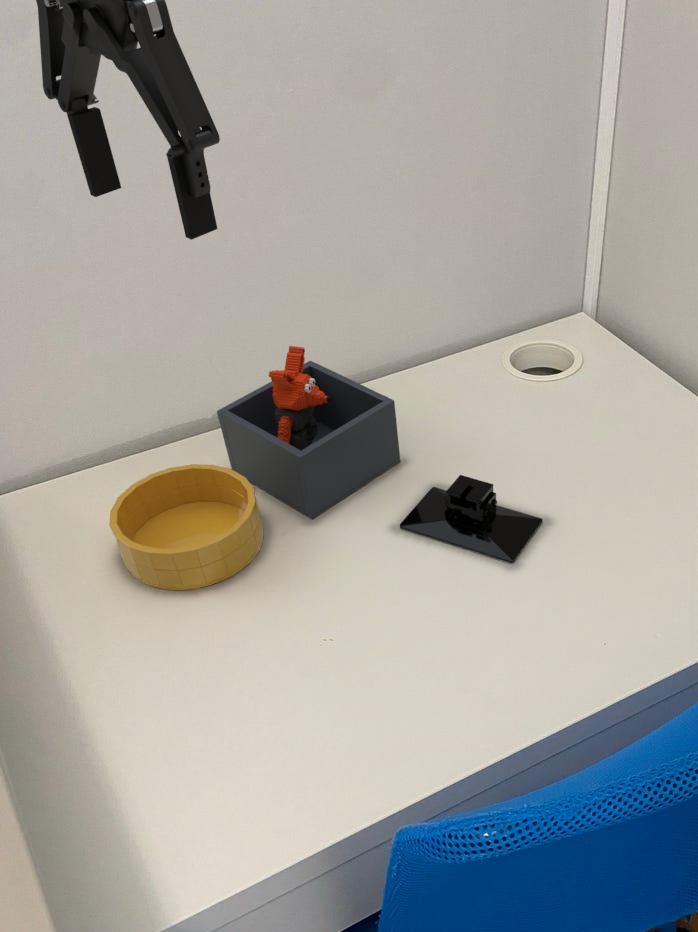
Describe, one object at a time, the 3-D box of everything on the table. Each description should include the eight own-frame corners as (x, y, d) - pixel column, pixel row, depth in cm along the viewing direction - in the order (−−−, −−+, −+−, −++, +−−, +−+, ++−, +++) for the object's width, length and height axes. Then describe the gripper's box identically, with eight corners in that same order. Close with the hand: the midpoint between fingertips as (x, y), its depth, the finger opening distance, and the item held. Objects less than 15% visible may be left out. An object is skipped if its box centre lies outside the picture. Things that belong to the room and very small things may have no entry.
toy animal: (327, 490, 96) (309, 385, 87) (278, 483, 97) (255, 379, 88) (354, 446, 101) (339, 343, 92) (307, 439, 102) (288, 337, 93)
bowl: (96, 549, 91) (80, 512, 87) (207, 484, 98) (196, 448, 94) (180, 610, 84) (166, 573, 81) (292, 536, 91) (284, 500, 88)
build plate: (398, 529, 92) (394, 491, 89) (434, 488, 96) (431, 450, 93) (512, 564, 88) (512, 525, 85) (544, 519, 92) (545, 481, 89)
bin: (232, 472, 99) (216, 410, 94) (320, 420, 105) (310, 360, 100) (312, 520, 93) (300, 457, 88) (400, 462, 100) (394, 400, 94)
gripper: (230, -84, 62) (281, 236, 77) (24, -124, 73) (105, 164, 88) (135, -66, 58) (209, 268, 73) (-67, -110, 69) (34, 188, 85)
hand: (152, 212), depth 81 cm, fingers open, 13 cm apart
